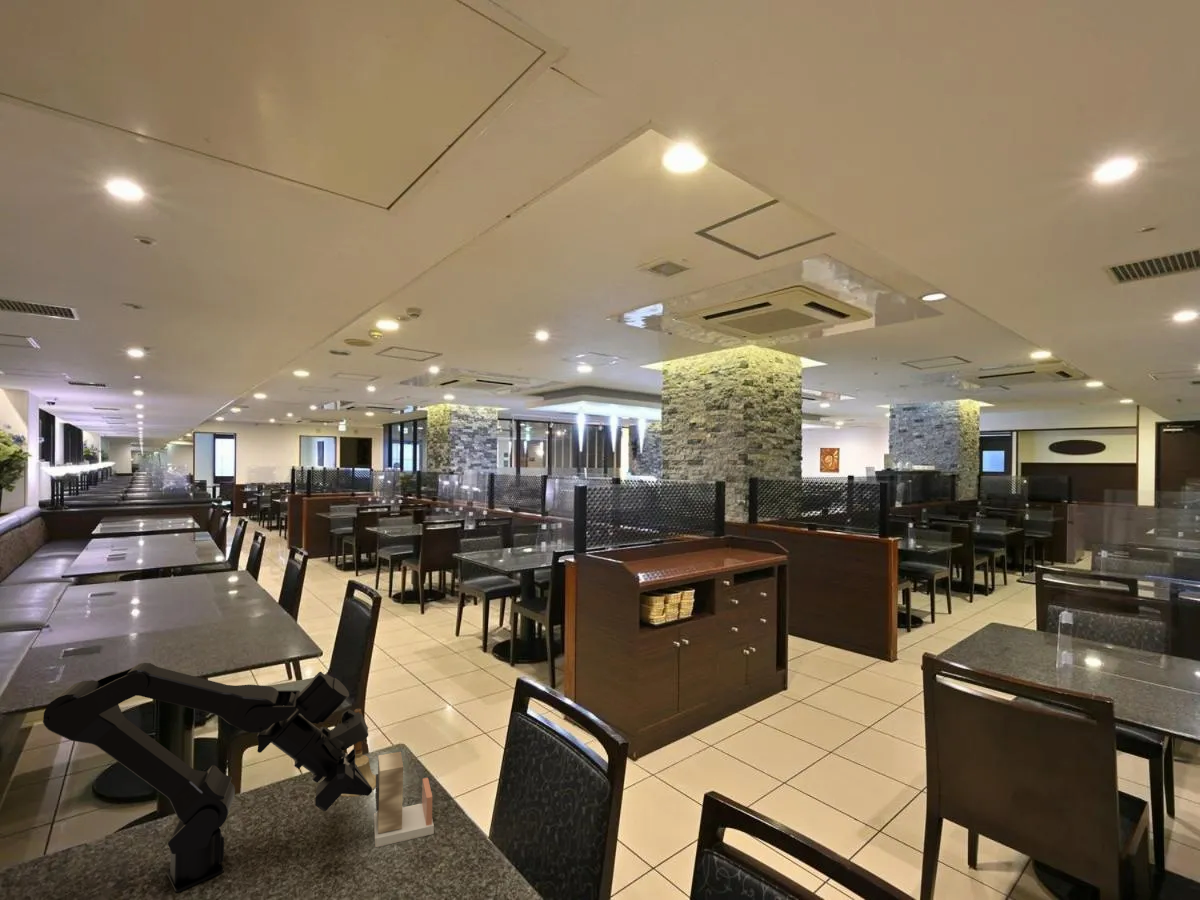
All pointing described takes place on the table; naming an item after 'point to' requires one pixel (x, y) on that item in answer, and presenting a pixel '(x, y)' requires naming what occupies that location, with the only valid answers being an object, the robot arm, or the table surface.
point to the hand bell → (362, 765)
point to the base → (410, 821)
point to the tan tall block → (389, 792)
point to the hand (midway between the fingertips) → (370, 792)
